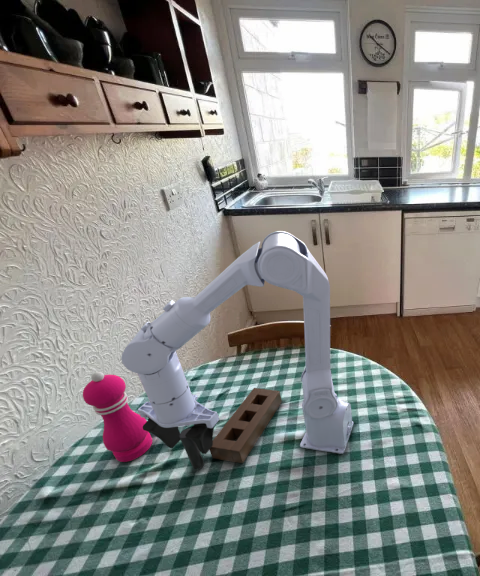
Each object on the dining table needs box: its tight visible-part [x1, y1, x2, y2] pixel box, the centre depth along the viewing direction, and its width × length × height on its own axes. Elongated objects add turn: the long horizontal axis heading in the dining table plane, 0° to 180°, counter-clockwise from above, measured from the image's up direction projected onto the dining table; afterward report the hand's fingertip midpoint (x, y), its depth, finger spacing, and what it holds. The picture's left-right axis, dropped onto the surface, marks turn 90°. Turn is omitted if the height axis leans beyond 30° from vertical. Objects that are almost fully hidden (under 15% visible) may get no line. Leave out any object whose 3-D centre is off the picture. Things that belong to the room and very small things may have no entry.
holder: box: [209, 387, 283, 464], centre depth 69 cm, size 7×16×4 cm, turn 170°
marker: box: [179, 427, 205, 471], centre depth 59 cm, size 2×2×9 cm
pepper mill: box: [82, 371, 153, 463], centre depth 61 cm, size 7×7×20 cm
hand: (191, 446), depth 59 cm, fingers open, 6 cm apart
